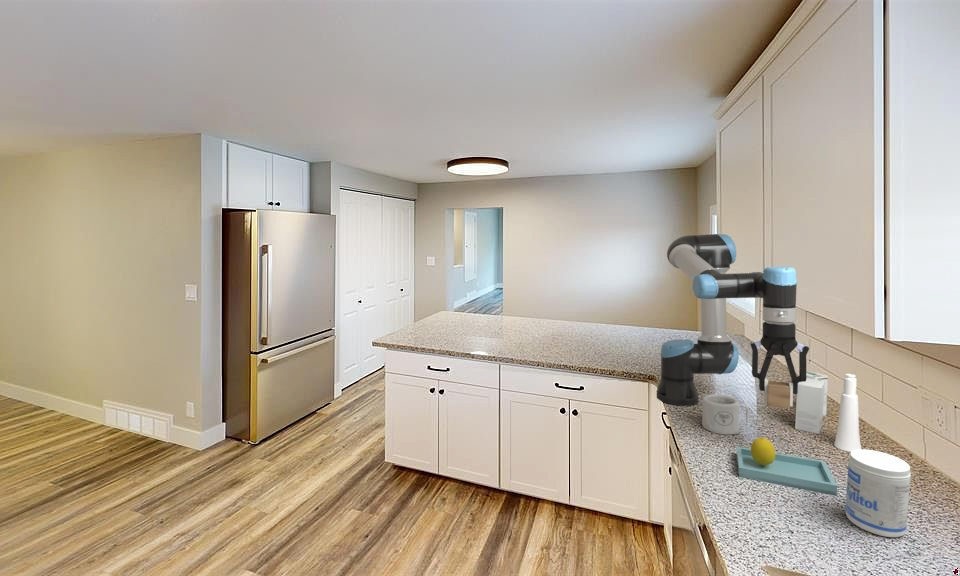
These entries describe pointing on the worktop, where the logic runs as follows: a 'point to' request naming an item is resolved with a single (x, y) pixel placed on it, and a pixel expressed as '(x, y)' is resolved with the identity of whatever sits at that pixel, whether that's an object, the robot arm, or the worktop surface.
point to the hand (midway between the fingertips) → (777, 403)
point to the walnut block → (778, 394)
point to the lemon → (763, 451)
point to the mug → (722, 414)
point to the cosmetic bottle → (848, 417)
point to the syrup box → (825, 378)
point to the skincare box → (810, 405)
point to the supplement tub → (878, 492)
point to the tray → (788, 472)
